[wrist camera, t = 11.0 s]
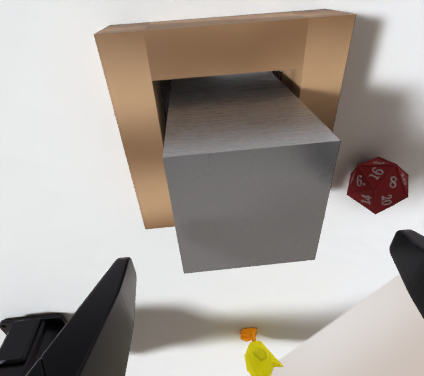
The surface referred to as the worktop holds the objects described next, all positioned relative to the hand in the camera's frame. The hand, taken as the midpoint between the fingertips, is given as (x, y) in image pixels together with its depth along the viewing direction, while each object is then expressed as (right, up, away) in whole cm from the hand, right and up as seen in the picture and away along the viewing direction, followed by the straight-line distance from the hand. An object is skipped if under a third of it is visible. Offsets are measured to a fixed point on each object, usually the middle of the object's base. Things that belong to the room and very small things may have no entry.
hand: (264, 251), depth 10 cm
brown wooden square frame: (-1, +7, +10) cm, 12 cm away
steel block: (-1, +7, +10) cm, 12 cm away
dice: (+10, +4, +13) cm, 17 cm away
